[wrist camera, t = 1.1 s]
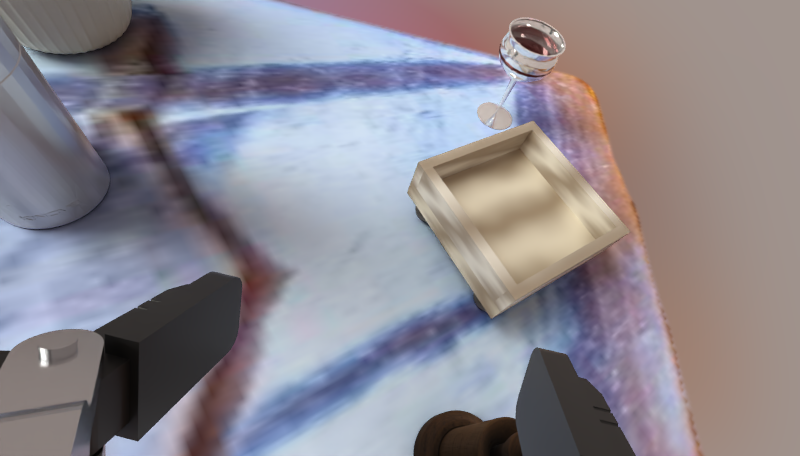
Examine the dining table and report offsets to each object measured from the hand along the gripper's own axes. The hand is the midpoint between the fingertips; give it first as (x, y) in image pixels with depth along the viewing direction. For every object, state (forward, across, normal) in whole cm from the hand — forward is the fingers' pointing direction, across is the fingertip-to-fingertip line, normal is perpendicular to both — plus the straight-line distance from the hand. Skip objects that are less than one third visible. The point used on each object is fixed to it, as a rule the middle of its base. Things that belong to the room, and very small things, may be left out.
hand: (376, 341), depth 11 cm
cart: (+34, -8, +5) cm, 35 cm away
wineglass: (+48, -6, -8) cm, 49 cm away
